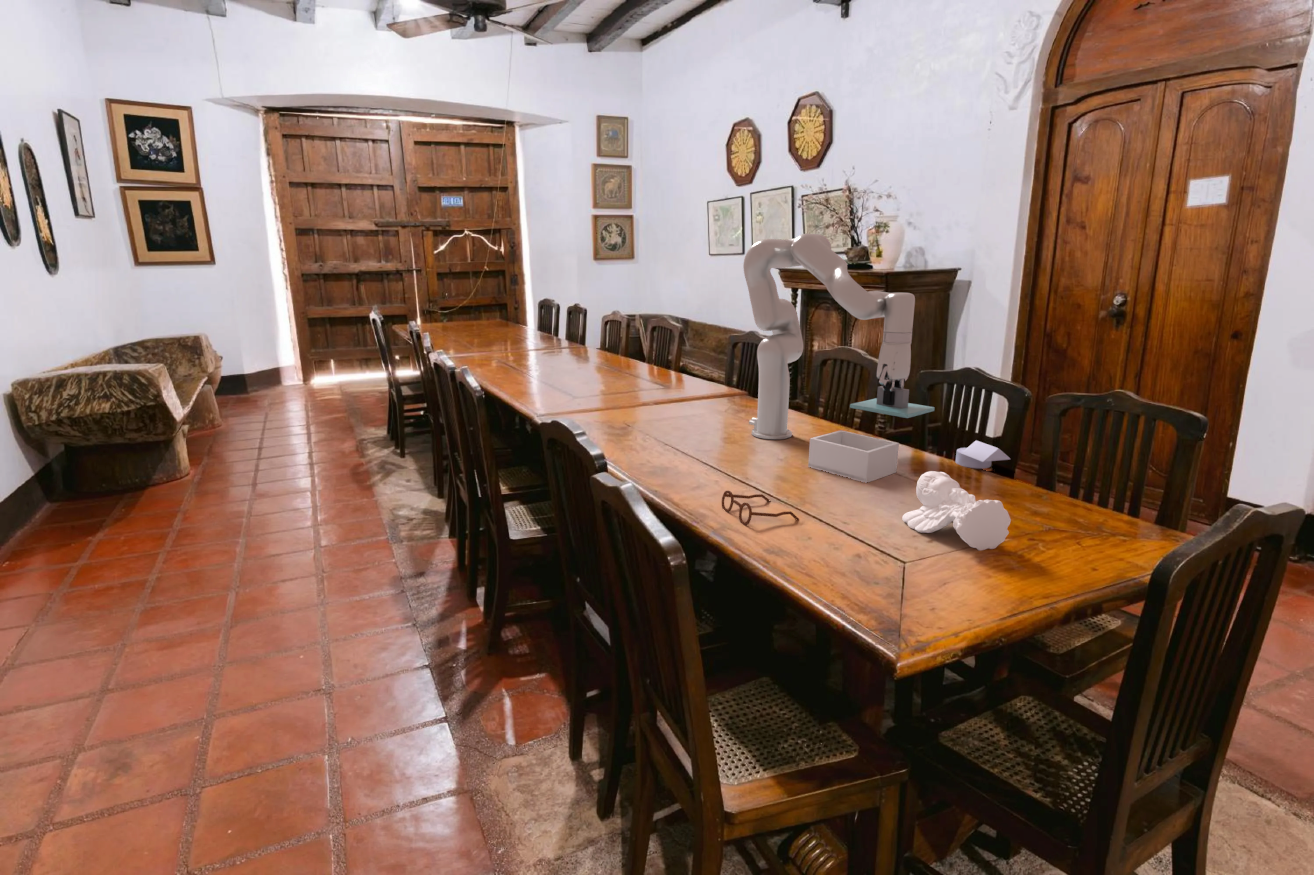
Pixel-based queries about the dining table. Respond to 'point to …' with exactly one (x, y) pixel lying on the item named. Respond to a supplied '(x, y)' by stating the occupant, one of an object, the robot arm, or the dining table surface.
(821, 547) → the dining table surface
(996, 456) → the wedge on round base
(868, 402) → the lid
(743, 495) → the glasses
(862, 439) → the tub
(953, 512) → the cherub figurine
